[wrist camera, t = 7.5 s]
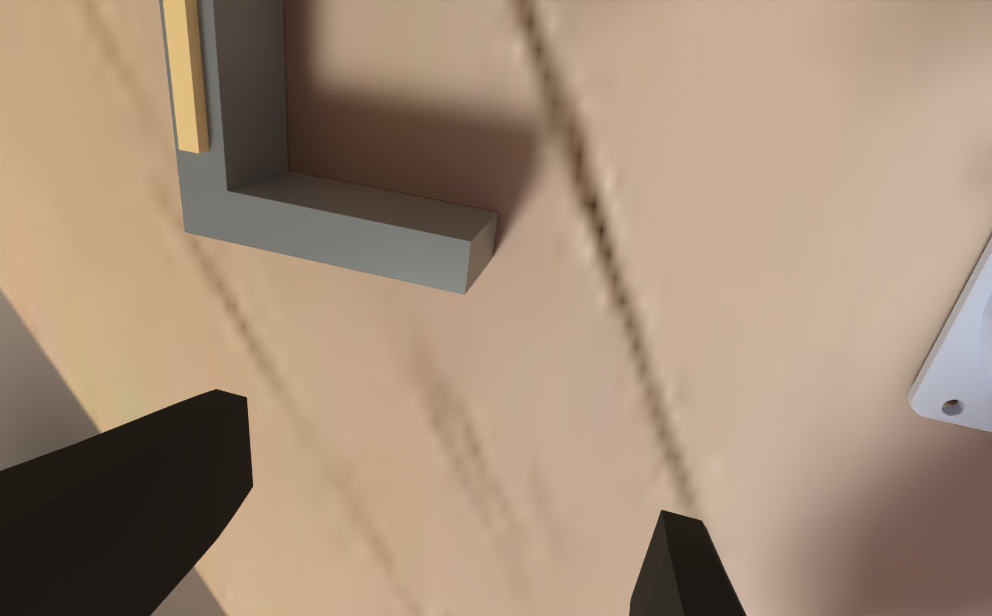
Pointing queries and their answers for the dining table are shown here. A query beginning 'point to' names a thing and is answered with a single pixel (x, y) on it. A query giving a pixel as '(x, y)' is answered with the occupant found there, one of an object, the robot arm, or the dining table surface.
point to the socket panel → (264, 162)
